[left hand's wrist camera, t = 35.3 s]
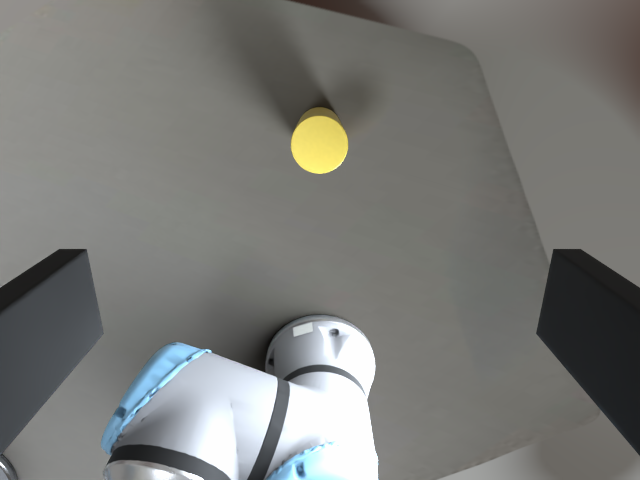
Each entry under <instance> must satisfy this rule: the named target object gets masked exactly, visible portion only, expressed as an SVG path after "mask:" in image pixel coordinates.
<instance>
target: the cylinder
mask: <svg viewBox="0 0 640 480" xmlns="http://www.w3.org/2000/svg"><path fill="white" fill-rule="evenodd" d="M347 150H348V139H347V135H346V132H345V130H344V128H343V126H342V124H341V122H340V120H339V118H338V116H337V115H336V114H335V113H334V112H333V111H331V110H329V109H327V108H323V107H316V108H312V109H310V110H308V111H307V112H305V113H304V114H303V115H302V117H301V118H300V120H299V122H298V124H297V126H296V128H295V130H294V132H293V135H292V138H291V151H292V154H293V156H294V158H295V160H296V162H297V163H298V164H299V165H300V166H301V167H302V168H304V169H305V170H307V171H309V172H312V173H326V172H330V171H332V170H334V169H335V168H337V167H338V166H339V165H340V164H341V163H342V162H343V160H344V158H345V156H346V154H347Z"/></svg>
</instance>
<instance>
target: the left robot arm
mask: <svg viewBox="0 0 640 480" xmlns="http://www.w3.org/2000/svg"><path fill="white" fill-rule="evenodd" d="M103 334H104V332H103V328H102V323H101V318H100V313H99V308H98V303H97V298H96V293H95V288H94V283H93V278H92V273H91V269H90V264H89V259H88V254H87V249H59V250H57V251H56V252H54V253H53V254H51V255H50V256H48V257H47V258H45V259H44V260H42V261H40V262H39V263H37V264H36V265H34V266H33V267H31V268H30V269H28V270H27V271H25V272H24V273H22V274H21V275H19V276H18V277H16V278H14V279H13V280H11V281H10V282H8V283H7V284H5V285H4V286H2V287H1V288H0V455H1V454H2V453H3V452H4V451H5V449H6V448H7V447H8V446H9V445H10V444H11V442H12V441H13V440H14V439H15V438H16V436H17V435H18V434H19V433H20V432H21V431H22V429H23V428H24V427H25V426H26V425H27V424H28V422H29V421H30V420H31V419H32V418H33V416H34V415H35V414H36V413H37V412H38V411H39V409H40V408H41V407H42V406H43V405H44V403H45V402H46V401H47V400H48V399H49V398H50V396H51V395H52V394H53V393H54V392H55V390H56V389H57V388H58V387H59V386H60V385H61V383H62V382H63V381H64V380H65V379H66V378H67V376H68V375H69V374H70V373H71V372H72V370H73V369H74V368H75V367H76V366H77V365H78V363H79V362H80V361H81V360H82V359H83V357H84V356H85V355H86V354H87V353H88V352H89V350H90V349H91V348H92V347H93V346H94V344H95V343H96V342H97V341H98V340H99V339H100V337H101V336H102V335H103ZM536 334H537V335H538V336H539V337H540V339H541V340H542V341H543V342H544V343H545V344H546V346H547V347H548V348H549V349H550V350H551V352H552V353H553V354H554V355H555V356H556V357H557V359H558V360H559V361H560V362H561V363H562V365H563V366H564V367H565V368H566V369H567V370H568V372H569V373H570V374H571V375H572V376H573V378H574V379H575V380H576V381H577V382H578V383H579V385H580V386H581V387H582V388H583V389H584V390H585V392H586V393H587V394H588V395H589V396H590V398H591V399H592V400H593V401H594V402H595V403H596V405H597V406H598V407H599V408H600V409H601V411H602V412H603V413H604V414H605V415H606V416H607V418H608V419H609V420H610V421H611V422H612V423H613V425H614V426H615V427H616V428H617V429H618V431H619V432H620V433H621V434H622V435H623V436H624V438H625V439H626V440H627V441H628V442H629V443H630V445H631V446H632V447H633V448H634V449H635V451H636V452H637V453H638V454H639V455H640V288H639V287H638V286H636V285H635V284H633V283H632V282H630V281H629V280H627V279H625V278H624V277H622V276H621V275H619V274H618V273H616V272H615V271H613V270H612V269H610V268H609V267H607V266H606V265H604V264H602V263H601V262H599V261H598V260H596V259H595V258H593V257H592V256H590V255H589V254H587V253H586V252H584V251H583V250H581V249H553V254H552V259H551V264H550V269H549V273H548V278H547V283H546V288H545V293H544V298H543V303H542V308H541V313H540V318H539V323H538V328H537V332H536ZM265 370H266V373H265V372H262V371H259V370H257V369H254V368H251V367H249V366H246V365H243V364H241V363H238V362H235V361H233V360H230V359H227V358H224V357H222V356H219V355H216V354H214V353H212V352H211V350H208V349H199V348H196V347H192V346H189V345H186V344H183V343H178V342H174V343H170V344H167V345H165V346H163V347H162V348H160V349H159V350H158V351H157V352H156V353H155V354H154V355H153V356H152V357H151V358H150V359H149V361H148V362H147V363H146V364H145V366H144V367H143V368H142V369H141V371H140V372H139V374H138V375H137V376H136V378H135V379H134V381H133V382H132V384H131V385H130V387H129V388H128V390H127V391H126V393H125V395H124V396H123V398H122V400H121V401H120V405H119V407H118V408H117V409H116V411H115V413H114V414H113V416H112V417H111V419H110V421H109V423H108V425H107V427H106V429H105V431H104V434H103V436H102V440H101V447H102V449H103V450H105V451H106V453H107V454H109V455H111V457H110V459H109V461H108V463H107V465H106V467H105V469H104V471H103V475H104V479H105V480H378V473H377V466H378V459H377V456H376V452H375V449H374V443H373V436H372V430H371V423H370V417H369V410H368V404H367V397H368V393H369V390H370V386H371V384H372V381H373V378H374V373H375V361H374V355H373V350H372V347H371V345H370V342H369V341H368V339H367V337H366V336H365V335H364V333H363V332H362V331H361V330H360V329H359V328H357V327H356V326H355V325H353V324H352V323H350V322H348V321H346V320H344V319H341V318H338V317H335V316H329V315H311V316H306V317H302V318H299V319H296V320H294V321H292V322H290V323H288V324H287V325H286V326H284V327H283V328H282V329H280V331H279V332H278V333H277V334H276V335H275V336H274V338H273V339H272V341H271V343H270V345H269V348H268V352H267V356H266V363H265Z"/></svg>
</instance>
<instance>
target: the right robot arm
mask: <svg viewBox="0 0 640 480" xmlns="http://www.w3.org/2000/svg"><path fill="white" fill-rule="evenodd" d="M0 480H17V476H16V473H15V470H14V468H13V467H12V465H11V464H10V462H9V461H8V460H7V459H6V458H5V457H4V456H3V455H2V454H1V455H0Z"/></svg>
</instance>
